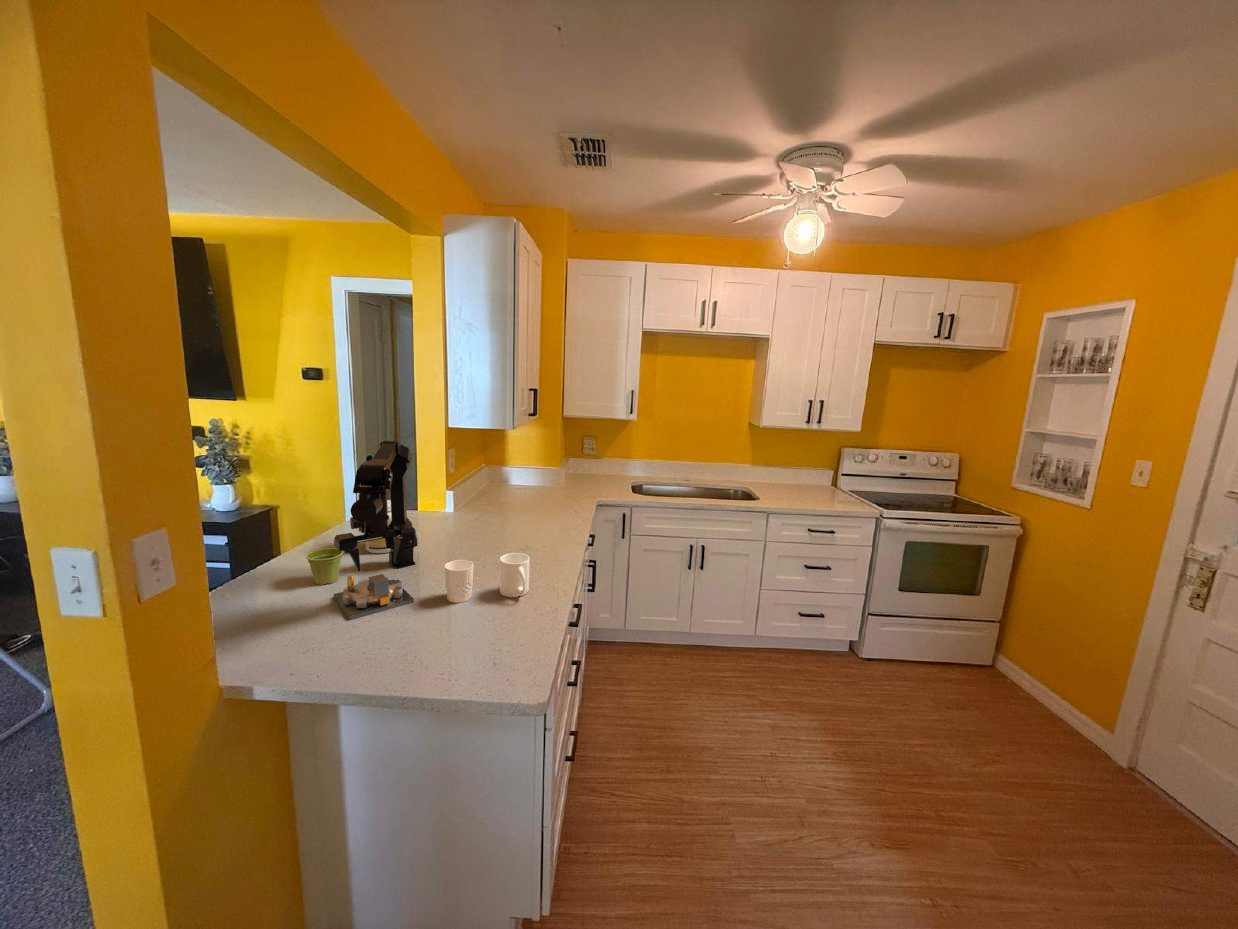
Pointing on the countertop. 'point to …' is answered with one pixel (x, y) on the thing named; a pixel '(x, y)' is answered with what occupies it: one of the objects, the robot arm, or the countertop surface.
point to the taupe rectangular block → (378, 585)
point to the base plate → (356, 612)
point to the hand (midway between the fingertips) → (377, 566)
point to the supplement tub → (379, 544)
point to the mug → (514, 574)
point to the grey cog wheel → (369, 593)
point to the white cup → (459, 580)
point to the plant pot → (325, 565)
